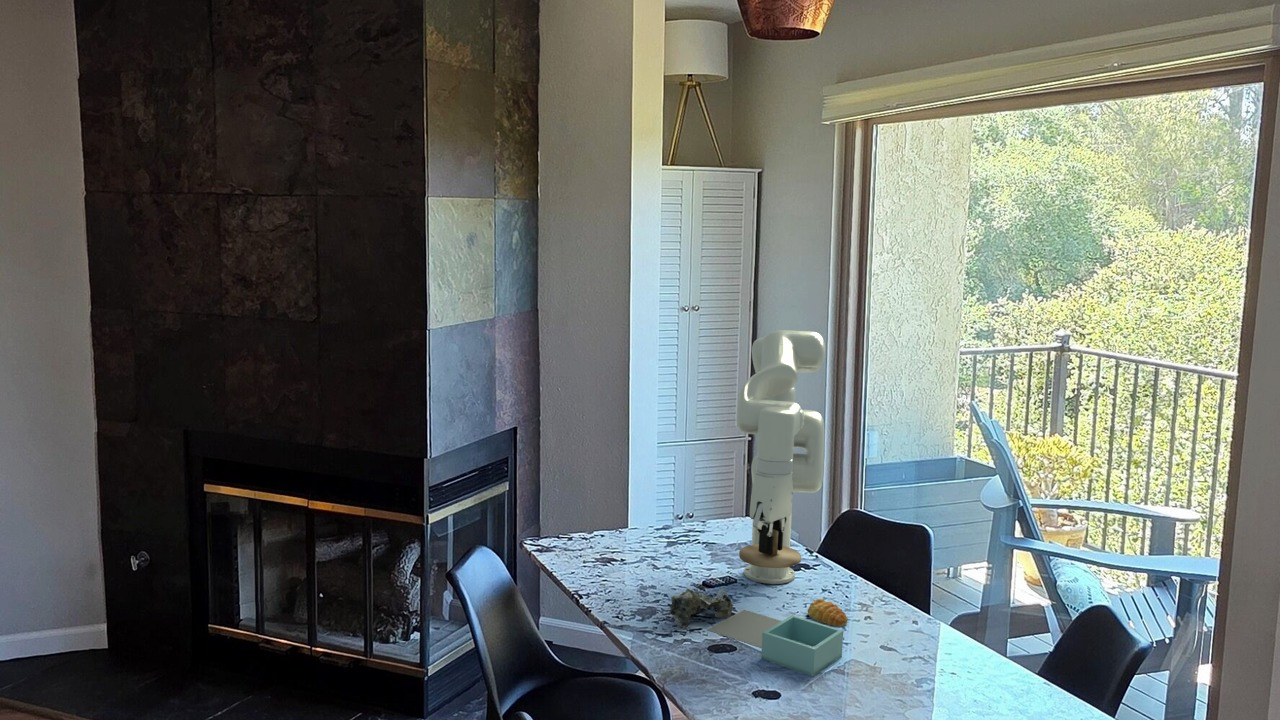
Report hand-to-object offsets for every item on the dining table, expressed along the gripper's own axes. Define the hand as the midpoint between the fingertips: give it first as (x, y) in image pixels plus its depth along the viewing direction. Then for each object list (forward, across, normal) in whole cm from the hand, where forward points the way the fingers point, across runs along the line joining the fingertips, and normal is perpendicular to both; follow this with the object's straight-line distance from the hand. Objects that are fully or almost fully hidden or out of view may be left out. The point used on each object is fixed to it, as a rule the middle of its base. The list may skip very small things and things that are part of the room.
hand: (770, 550), depth 218 cm
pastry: (+20, -18, +4) cm, 28 cm away
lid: (+2, 0, 0) cm, 2 cm away
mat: (+20, -2, -4) cm, 20 cm away
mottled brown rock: (+20, +1, -17) cm, 26 cm away
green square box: (+20, +4, +11) cm, 23 cm away
